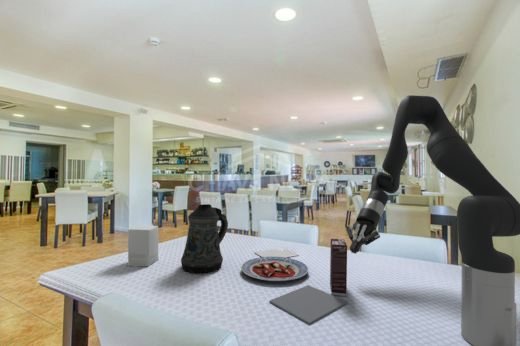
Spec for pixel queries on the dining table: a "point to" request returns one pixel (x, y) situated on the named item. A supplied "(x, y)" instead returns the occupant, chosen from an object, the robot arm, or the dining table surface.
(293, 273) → the ceramic plate
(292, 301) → the charcoal mat
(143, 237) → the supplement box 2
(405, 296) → the dining table surface
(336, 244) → the supplement box
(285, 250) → the paper stack
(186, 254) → the beer stein
